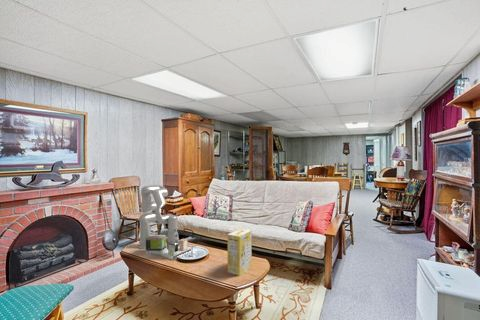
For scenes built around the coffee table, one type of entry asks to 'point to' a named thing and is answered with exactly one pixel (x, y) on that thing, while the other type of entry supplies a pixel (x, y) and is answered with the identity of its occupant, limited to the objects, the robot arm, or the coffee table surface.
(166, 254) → the shelf
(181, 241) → the terracotta carton
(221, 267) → the coffee table surface
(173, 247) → the sage carton
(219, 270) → the coffee table surface
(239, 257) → the pasta box
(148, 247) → the tea box
